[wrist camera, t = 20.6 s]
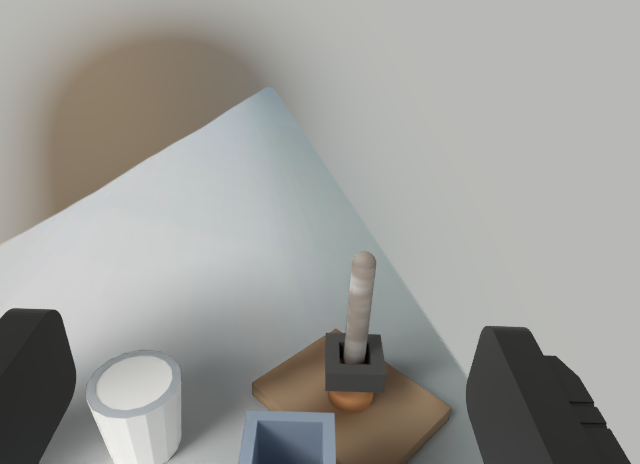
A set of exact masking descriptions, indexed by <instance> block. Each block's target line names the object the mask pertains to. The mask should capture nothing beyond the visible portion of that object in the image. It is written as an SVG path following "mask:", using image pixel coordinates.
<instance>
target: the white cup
mask: <svg viewBox="0 0 640 464" xmlns="http://www.w3.org/2000/svg"><path fill="white" fill-rule="evenodd" d="M86 400H87V402H88V405H89V407H90V409H91V412H92V414H93V416H94V419H95V421H96V424H97V426H98V428H99V431H100V433H101V435H102V438H103V440H104V442H105V445H106V447H107V449H108V452H109V454H110V456H111V458H112V460H113V461H114V463H115V464H164V463H165V462H167V461H168V460H169V459H170V458H171V457H172V456H173V454H174V453H175V452H176V451H177V449H178V447H179V444H180V441H181V373H180V366H179V365H178V364H177V363H176V362H175V360H174V359H173V358H172V357H171V356H168V355H166V354H164V353H161V352H159V351H149V350H140V351H134V352H129V353H124V354H122V355H120V356H118V357H115V358H113V359H111V360H109V361H107V362H106V363H105V364H104V365H102V366H101V367H100V368H99V369H98V370H96V371H95V372H94V374H93V376H92V377H91V379H90V380H89V382H88V384H87V389H86Z"/></svg>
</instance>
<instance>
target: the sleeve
mask: <svg viewBox="0 0 640 464" xmlns="http://www.w3.org/2000/svg"><path fill="white" fill-rule="evenodd" d="M238 464H336V450H335V414H334V413H319V412H288V411H257V410H247V413H246V419H245V425H244V432H243V438H242V444H241V450H240V457H239V463H238Z"/></svg>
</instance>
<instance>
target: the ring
mask: <svg viewBox="0 0 640 464" xmlns="http://www.w3.org/2000/svg"><path fill="white" fill-rule="evenodd" d="M345 336H346V334H345V333H326V340H325V391H341V392H372V393H384V388H385V381H386V369H385V363H384V356H383V350H382V343H381V336H380V335H374V334H368V337H367V345H366V354H365V360H367V365H365V364H340V359H343V358H344V347H345Z"/></svg>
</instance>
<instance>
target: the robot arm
mask: <svg viewBox="0 0 640 464" xmlns="http://www.w3.org/2000/svg"><path fill="white" fill-rule="evenodd" d="M75 384H76V369H75V364H74V361H73V357H72V353H71V350H70V346H69V342H68V339H67V335H66V331H65V327H64V324H63V320H62V317H61V315H60V313H59V312H58V311H56V310H49V309H20V308H13V309H10V310H8V311H7V312H6V313H5V314H4V315H3V316H2V317H1V319H0V464H38V463H39V461H40V459H41V457H42V455H43V453H44V452H45V450H46V448H47V446H48V444H49V442H50V440H51V438H52V436H53V434H54V433H55V431H56V429H57V427H58V425H59V423H60V421H61V419H62V417H63V415H64V414H65V412H66V410H67V408H68V406H69V404H70V402H71V400H72V397H73V394H74V390H75ZM466 403H467V410H468V414H469V418H470V421H471V424H472V427H473V430H474V434H475V437H476V440H477V443H478V446H479V449H480V452H481V455H482V459H483V462H484V464H631V463H630V461H629V460H628V458H627V457H626V455H625V453H624V451H623V450H622V448H621V446H620V445H619V443H618V441H617V440H616V438H615V436H614V435H613V433H612V431H611V430H610V429H607V426H606V421H605V420H604V418H603V416H602V415H601V413H600V412H599V410H598V408H597V407H594V401H593V400H592V398H591V396H590V394H589V393H588V391H587V390H586V388H585V387H584V384H583V383H582V381H581V380H580V378H579V377H578V376H577V375H576V374H575V373H574V372H573V371H572V370H571V369H569V368H568V367H567V366H566V365H565V364H564V363H563V362H562V361H561V360H560V359H558V358H557V357H556V356H544V355H543V354H542V352H541V350H540V348H539V346H538V344H537V342H536V340H535V339H534V337H533V335H532V333H531V332H530V331H529V329H527V328H525V327H503V326H485V327H484V328H483V330H482V332H481V335H480V338H479V342H478V345H477V349H476V352H475V356H474V360H473V363H472V366H471V370H470V373H469V377H468V381H467V386H466Z"/></svg>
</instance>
